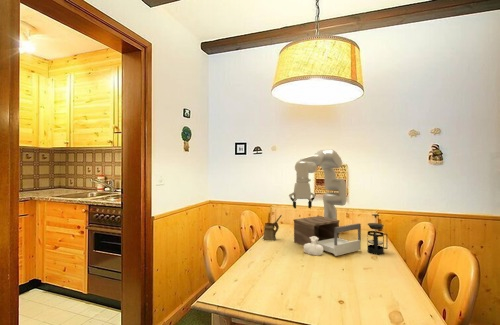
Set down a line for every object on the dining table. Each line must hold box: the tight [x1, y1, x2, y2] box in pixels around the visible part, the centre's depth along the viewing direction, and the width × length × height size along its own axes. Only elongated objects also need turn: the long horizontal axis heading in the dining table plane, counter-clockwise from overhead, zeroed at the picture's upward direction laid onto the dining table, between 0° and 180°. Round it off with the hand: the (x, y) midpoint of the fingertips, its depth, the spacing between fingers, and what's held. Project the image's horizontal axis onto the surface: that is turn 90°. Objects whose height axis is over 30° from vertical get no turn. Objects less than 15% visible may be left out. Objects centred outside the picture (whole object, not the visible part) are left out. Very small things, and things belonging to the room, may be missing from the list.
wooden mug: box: [262, 214, 282, 241], centre depth 189 cm, size 9×14×18 cm, turn 72°
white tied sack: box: [303, 236, 325, 257], centre depth 160 cm, size 12×8×11 cm
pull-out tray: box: [316, 222, 362, 257], centre depth 165 cm, size 22×18×16 cm
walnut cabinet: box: [293, 215, 340, 247], centre depth 181 cm, size 25×18×16 cm
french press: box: [366, 213, 388, 256], centre depth 161 cm, size 12×9×23 cm
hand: (302, 208), depth 168 cm, fingers open, 9 cm apart
